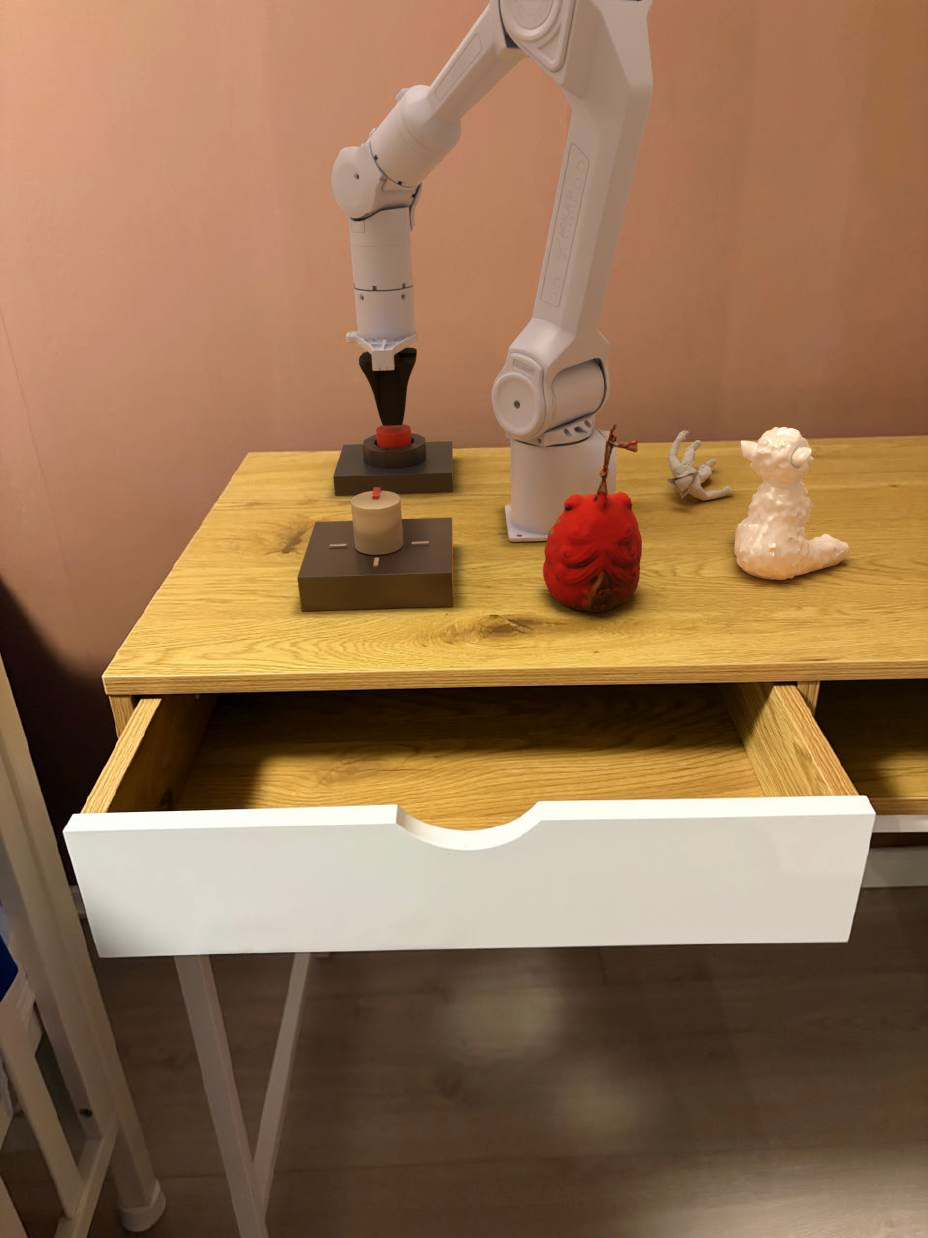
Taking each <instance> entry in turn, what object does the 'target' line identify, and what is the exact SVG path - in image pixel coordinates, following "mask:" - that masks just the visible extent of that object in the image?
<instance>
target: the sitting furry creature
mask: <svg viewBox="0 0 928 1238" xmlns="http://www.w3.org/2000/svg"><path fill="white" fill-rule="evenodd" d="M740 448H741V456H742V458H743V459H744V460H746V461H749V462H750V465H749V466H750V468H751V469H752V470H753V472H754V473H755V474H756V475H758V476H759V477H760V479H762V483H761V484H759V486H758V487H757V490H756V492H754V493H753V494H752V496H751V502H750V504H749V505H748V506H747V508H748V510H747V512H746V515H747V517H746V518H744V519H742V521H741V522H740V523H738V524H737V526H736V527H735V534H734V543H733V545H734V547H733V548H734V550H733V551H734V552H733V554H734V555H735V557H736V559H735V561H736V565H738V566H739V568H741V570H742V571H743V572H745V573H746V574H747V575H750V576H751V577H756V578H759V579H764V580H770V581H773V580H775V581H786V580H787V579H793V578H794V577H798V576H801V575H805V574H809V573H811V572H815V571H819V570H823V569H825V568H830V567H833V566H836V565H839V564H840V562H842V561H843V560H844V559H846V558H847V557H848V555H849V552H850V546H849V544H848V543H847V542H845V541H841V540H840V539H838V538H835V537H833V536H831V534H828V533H823V534H822V535H820V536H815V537H813V538H811V539H807V538H806V534H807V531H806V528H807V523H808V522H809V521H810V519H811V517H810V514H811V511H812V510H813V508H814V505H813V502H812V499H811V498H810V497H809V490H808V489H807V488H806V485H805V483H804V482H803V478H805V476H807V475H808V474H810V472H811V466H812V465H811V464H813V463H814V462H815V458H814V457H813V456H812V455H811V454H812V447H811V445H809V442H808V440H807V439H806V438H805V437H803V436H802V433H801V432H800V430H798V429H796V428H793V427H786V426H781V427H779V426H775V427H773V428H771V429H769V430H766V431H765V432H764V433H762V435H761V437H760V438H758V440H757V442H755V441H751V440H742V439H741V440H740Z"/></svg>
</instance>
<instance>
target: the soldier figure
mask: <svg viewBox="0 0 928 1238" xmlns="http://www.w3.org/2000/svg"><path fill="white" fill-rule="evenodd" d="M687 434H689V431H688V430H682V431H680V432H679V433H678V434H677V436H676V438H675V440H673V443H672V445H671V448H670V451H669V453H668V457H667V462H668V465H669V470H670V471H671V474H672V476H673V477H669V478H667V479H666V481H667V483H670V484H671V485H672V486H673V487H674V488H675V489H676V490H677V491H678V494H679V496H680V498H681V500H683V499H684V497H686V496H687V495H690V496H692V497H694V498H695V499H699V500H700V501H704V502H705V501H709V500H715V499H717V498H722V497H723V496H727V495H729V494H730V493H732V492H734V491H735V490H734V487H733V486H731V485H730V484H729V485H726V486H725V487H723V488H722V489H716V490H706V491H705V489H704V488H703V487H702V485H701V484H704V482H706V480H707V479H708V478H711V477H712V476H713V469H712V468H714V467H715V466H716V464H717V462H718V461H717V459H716V458H715V457H714V458H711V459H709V460H707V461H706V462H704V463H701V464H700V465H698V466H697V468H695V466H694V465H695V461H696V451H698V450H699V449H700V447H701V445H702V441H701V440H700V439H697V440H695V441H693V442H692V443H691V444H690V445H689V446H687V447H686V448H685V449H684V450H683V451H682V453H683V456H682V458H681V460H679V459H678V455H679V451H680V446H681V443H682V442H684V441H687V440H688V439H687V437H686V435H687Z"/></svg>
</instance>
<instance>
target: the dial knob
mask: <svg viewBox="0 0 928 1238" xmlns="http://www.w3.org/2000/svg"><path fill="white" fill-rule="evenodd" d="M350 507H351V508H350V509H351V521H353V531H354V542H355V548H356V550H358V551H359V552H361V553H364V554H369V555H383V554H389V553H392V552H395V551H397V550H399V549H400V548H401V547H402V546H403V528H402V519H403V514H402V501H401V496H400V494H396V493H393V492H389V491H381V487H374V489H373V491H369V492H364V493H361V494H358V495H356V496H352V498H351V500H350Z"/></svg>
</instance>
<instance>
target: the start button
mask: <svg viewBox="0 0 928 1238" xmlns="http://www.w3.org/2000/svg"><path fill="white" fill-rule="evenodd" d="M411 433H412V429H411V426H409V425H407V424H404V423H403V424H402V425H394V426H383V425H382V424H381V425H380V426H377V428H376V429H375V435H376V437H377V446H378V447H383V448H401V447H405V446H409V445H410V444H412V442H411Z"/></svg>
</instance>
